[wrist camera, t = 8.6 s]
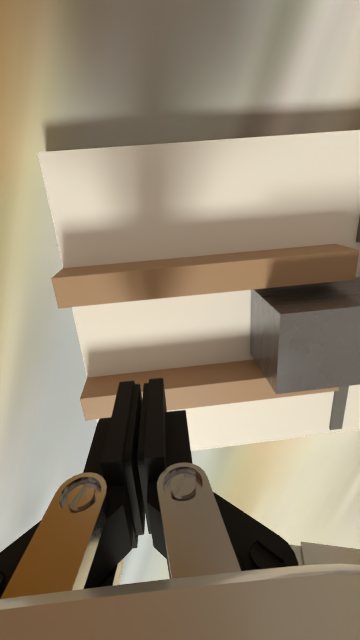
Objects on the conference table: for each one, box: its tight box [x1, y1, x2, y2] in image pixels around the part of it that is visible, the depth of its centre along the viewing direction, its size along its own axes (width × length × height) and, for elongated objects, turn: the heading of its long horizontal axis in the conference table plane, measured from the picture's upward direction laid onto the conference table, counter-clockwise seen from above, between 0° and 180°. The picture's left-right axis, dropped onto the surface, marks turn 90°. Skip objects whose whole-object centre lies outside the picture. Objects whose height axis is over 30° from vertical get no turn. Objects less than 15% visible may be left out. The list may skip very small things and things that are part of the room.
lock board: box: [38, 130, 360, 451], centre depth 16 cm, size 23×18×5 cm
